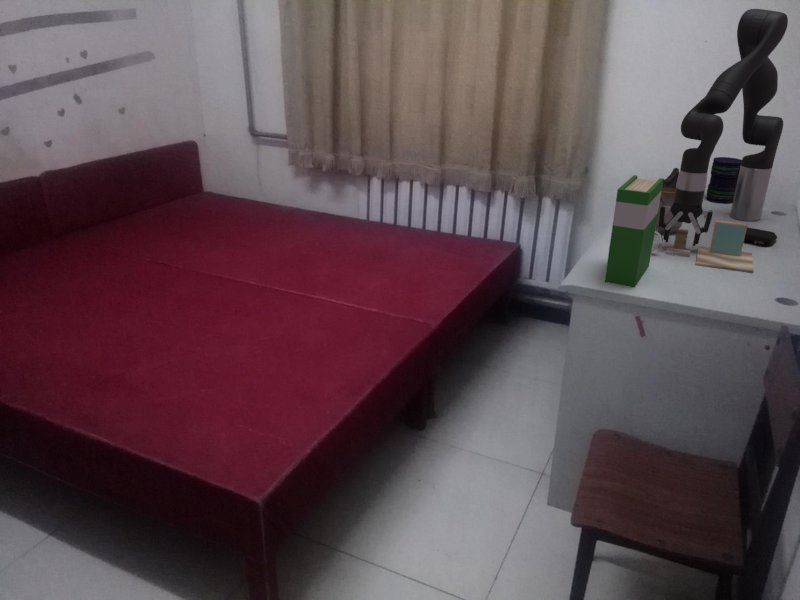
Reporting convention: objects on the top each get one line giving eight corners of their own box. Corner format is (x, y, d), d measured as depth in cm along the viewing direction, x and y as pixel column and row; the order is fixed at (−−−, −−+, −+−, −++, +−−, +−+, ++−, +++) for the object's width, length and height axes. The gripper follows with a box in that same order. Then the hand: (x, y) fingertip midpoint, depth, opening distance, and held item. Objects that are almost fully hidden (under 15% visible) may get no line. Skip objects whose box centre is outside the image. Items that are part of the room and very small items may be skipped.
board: (698, 247, 191) (698, 245, 191) (751, 254, 186) (751, 252, 186) (695, 265, 178) (696, 262, 178) (753, 273, 173) (753, 270, 172)
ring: (660, 254, 186) (665, 227, 183) (659, 257, 183) (663, 230, 180) (635, 250, 189) (639, 223, 186) (633, 253, 187) (637, 226, 183)
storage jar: (700, 200, 241) (708, 159, 235) (712, 195, 247) (720, 155, 241) (727, 205, 235) (736, 163, 229) (739, 200, 241) (748, 160, 235)
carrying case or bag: (716, 240, 199) (769, 250, 191) (718, 230, 198) (772, 240, 190) (725, 231, 207) (777, 241, 199) (727, 222, 206) (779, 231, 197)
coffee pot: (648, 222, 214) (656, 177, 208) (685, 229, 208) (693, 182, 202) (626, 238, 199) (634, 190, 193) (665, 246, 192) (674, 196, 186)
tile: (709, 250, 187) (715, 220, 184) (740, 254, 184) (747, 223, 180) (709, 252, 186) (715, 221, 182) (740, 256, 183) (747, 225, 179)
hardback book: (621, 261, 180) (633, 175, 171) (648, 266, 177) (663, 178, 167) (604, 281, 166) (617, 189, 157) (634, 287, 163) (649, 193, 153)
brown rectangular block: (669, 244, 194) (672, 228, 192) (690, 247, 192) (693, 230, 190) (666, 254, 186) (669, 237, 184) (689, 257, 184) (692, 240, 182)
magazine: (673, 169, 247) (660, 158, 221) (683, 170, 246) (670, 159, 219) (663, 215, 250) (648, 210, 224) (672, 216, 248) (658, 211, 222)
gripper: (719, 186, 183) (707, 243, 189) (664, 181, 188) (655, 236, 195) (718, 192, 177) (706, 250, 183) (662, 187, 182) (652, 243, 189)
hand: (680, 243), depth 189 cm, fingers open, 7 cm apart
